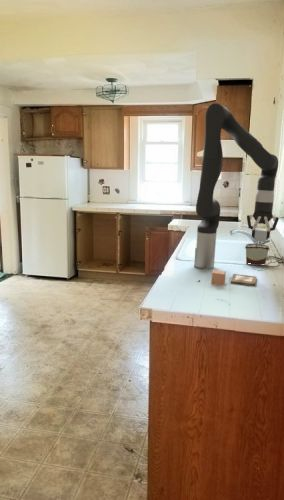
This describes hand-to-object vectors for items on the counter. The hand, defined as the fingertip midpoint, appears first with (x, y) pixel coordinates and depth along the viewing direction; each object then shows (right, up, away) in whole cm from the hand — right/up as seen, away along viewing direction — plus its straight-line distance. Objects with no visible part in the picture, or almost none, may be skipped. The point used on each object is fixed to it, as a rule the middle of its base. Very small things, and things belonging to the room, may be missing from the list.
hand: (260, 238), depth 168 cm
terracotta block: (-21, -19, -9) cm, 30 cm away
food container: (+5, -12, +27) cm, 30 cm away
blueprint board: (-9, -19, -5) cm, 21 cm away
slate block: (0, -1, 0) cm, 1 cm away
